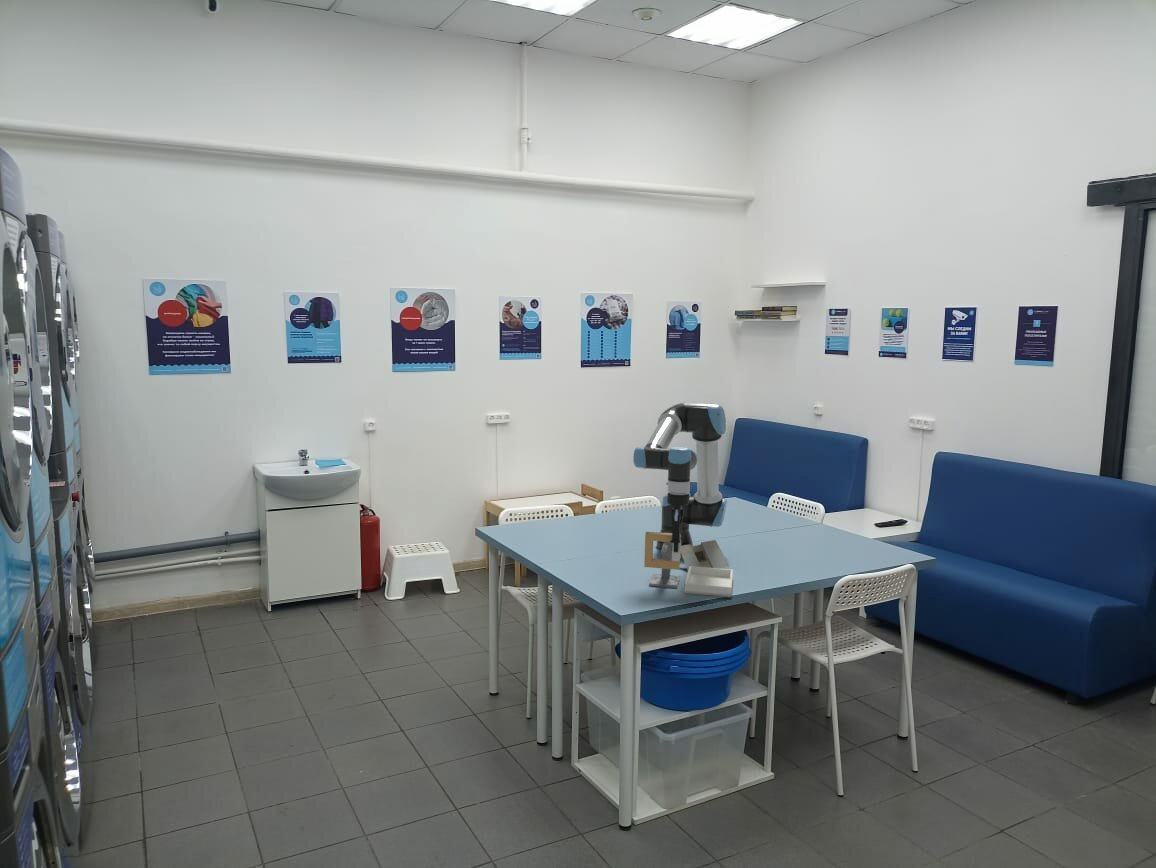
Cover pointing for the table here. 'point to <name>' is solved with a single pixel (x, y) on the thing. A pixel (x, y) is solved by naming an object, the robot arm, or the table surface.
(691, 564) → the grey angular piece
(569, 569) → the table surface
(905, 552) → the table surface
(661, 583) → the hook stand
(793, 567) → the table surface
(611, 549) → the table surface
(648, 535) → the picture frame
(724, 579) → the tray
